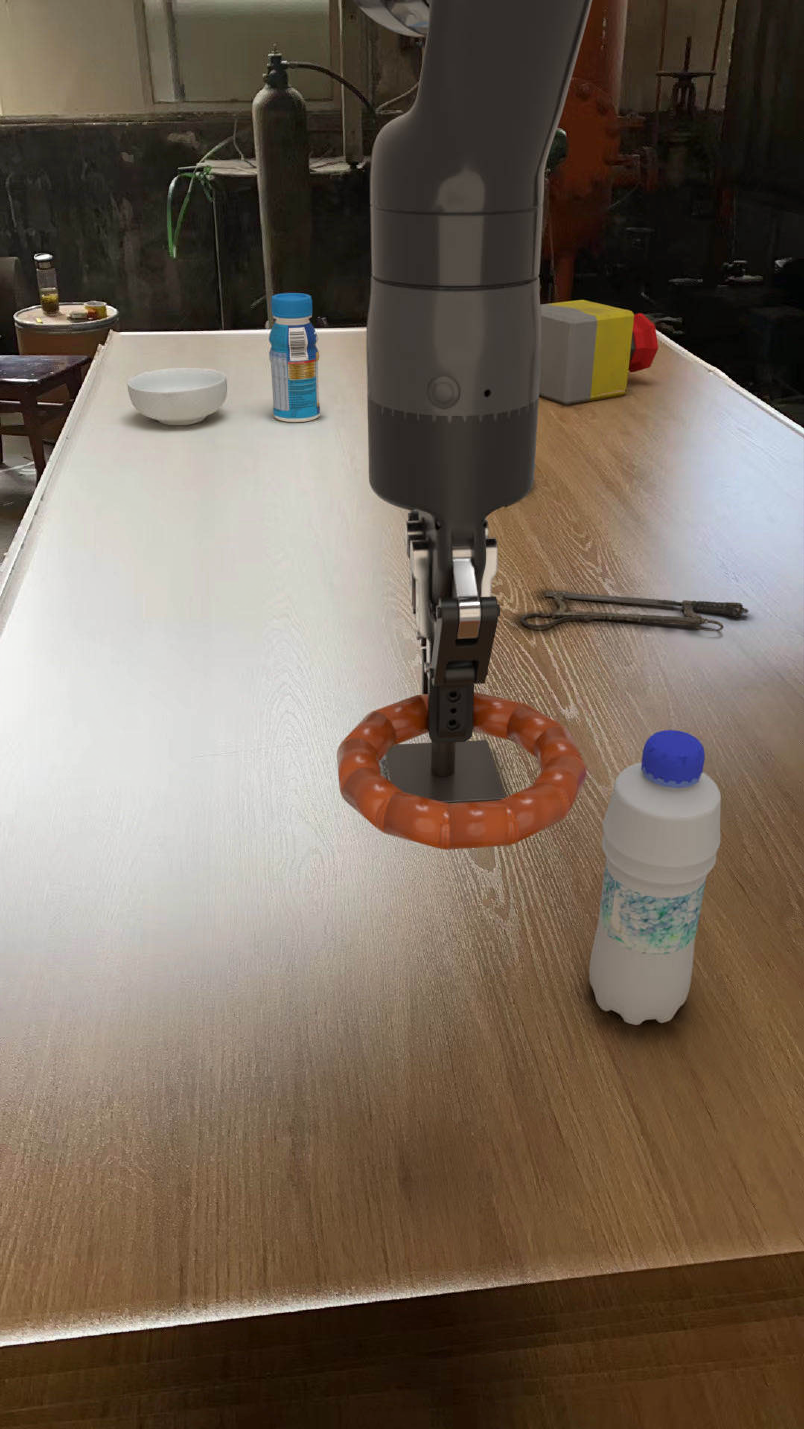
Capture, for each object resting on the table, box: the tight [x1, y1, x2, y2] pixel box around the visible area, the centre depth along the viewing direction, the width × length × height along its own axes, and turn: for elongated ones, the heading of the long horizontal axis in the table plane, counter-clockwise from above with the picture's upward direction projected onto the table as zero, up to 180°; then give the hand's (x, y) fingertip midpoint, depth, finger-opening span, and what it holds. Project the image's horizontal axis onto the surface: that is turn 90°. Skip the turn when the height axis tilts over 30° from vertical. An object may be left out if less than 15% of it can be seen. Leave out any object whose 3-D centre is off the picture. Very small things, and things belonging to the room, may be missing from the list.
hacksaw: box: [520, 590, 750, 632], centre depth 119 cm, size 24×10×2 cm, turn 76°
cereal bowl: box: [126, 367, 228, 426], centre depth 187 cm, size 17×17×7 cm
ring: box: [336, 691, 587, 851], centre depth 52 cm, size 12×12×2 cm
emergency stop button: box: [539, 299, 659, 406], centre depth 204 cm, size 15×24×15 cm, turn 122°
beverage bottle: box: [268, 292, 321, 423], centre depth 185 cm, size 8×8×20 cm
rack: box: [384, 739, 506, 804], centre depth 88 cm, size 9×9×16 cm
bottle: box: [588, 729, 722, 1026], centre depth 65 cm, size 7×7×20 cm
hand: (446, 724), depth 56 cm, fingers closed on ring, 2 cm apart
